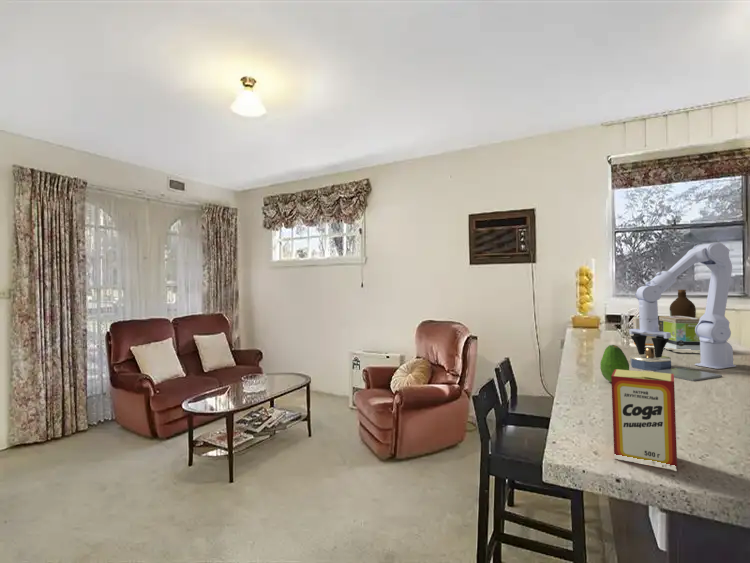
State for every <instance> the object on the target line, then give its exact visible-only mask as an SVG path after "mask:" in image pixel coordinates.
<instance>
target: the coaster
mask: <svg viewBox="0 0 750 563" xmlns="http://www.w3.org/2000/svg"><path fill="white" fill-rule="evenodd" d="M652 372H659V373H669V374H674V379H676V378H677V379H681V380H686V381H690V382H699V381H703V380H710V379H717V378H722V377H723V375H722V374H718V373H714V372H707V371H701V370H696V369H691V368H687V367H680V366H679V367H675V368H671V369H665V370H658V371H657V370H652Z"/></svg>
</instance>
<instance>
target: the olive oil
mask: <svg viewBox="0 0 750 563" xmlns="http://www.w3.org/2000/svg"><path fill="white" fill-rule="evenodd" d="M686 291H687V290H686V289H677V298H676V299H674V300H673V301H672V302H671V304H670V305H669V316H685V317H692V318H697V316H696V315H697V312H696V311H697V307H696V306H695V303H694V302H692V301H691V300H690V299H689V298H688V297H687V292H686Z"/></svg>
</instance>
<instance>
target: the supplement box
mask: <svg viewBox="0 0 750 563" xmlns="http://www.w3.org/2000/svg"><path fill="white" fill-rule="evenodd" d="M632 326H633V328H632V329H640V323H639V317H638V316H637V317H636V316H634V317H632ZM650 335H653V334H650ZM652 338H656V337H653V336H647V338H646V342H645V346H654V344H653V341H652ZM633 344H634V345H635V343H634V342H633Z"/></svg>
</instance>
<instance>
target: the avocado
mask: <svg viewBox="0 0 750 563" xmlns="http://www.w3.org/2000/svg"><path fill="white" fill-rule="evenodd" d="M615 369H619V370H630V363H629V361H628V359H627V357H626V354H625V353H624V351H623V350H622V349H621V347H619V346H618V345H615V344H609V345H608V346H606V348H605V349H604V351H603V354H602V357H601V360H600V371H601V375H602V376H603V378H604V379H605V380H607V381H609V383H612V381H611V376H612V374H613V372H614V370H615Z"/></svg>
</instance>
